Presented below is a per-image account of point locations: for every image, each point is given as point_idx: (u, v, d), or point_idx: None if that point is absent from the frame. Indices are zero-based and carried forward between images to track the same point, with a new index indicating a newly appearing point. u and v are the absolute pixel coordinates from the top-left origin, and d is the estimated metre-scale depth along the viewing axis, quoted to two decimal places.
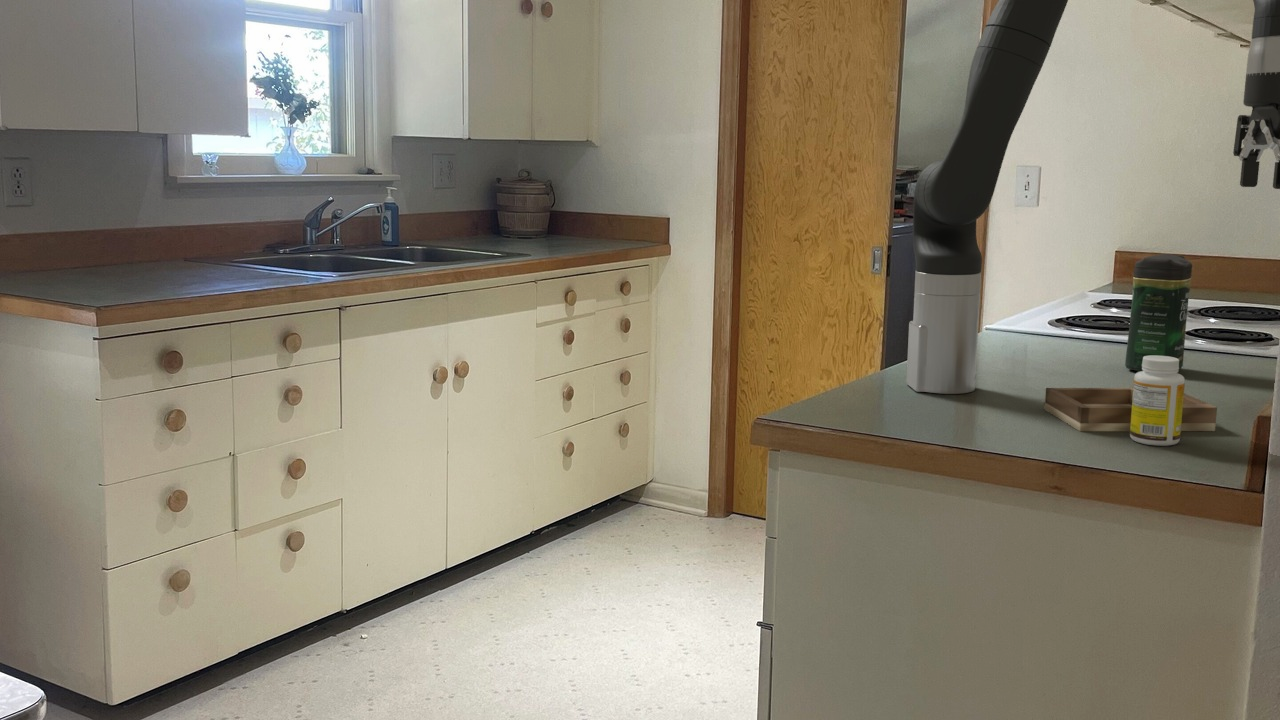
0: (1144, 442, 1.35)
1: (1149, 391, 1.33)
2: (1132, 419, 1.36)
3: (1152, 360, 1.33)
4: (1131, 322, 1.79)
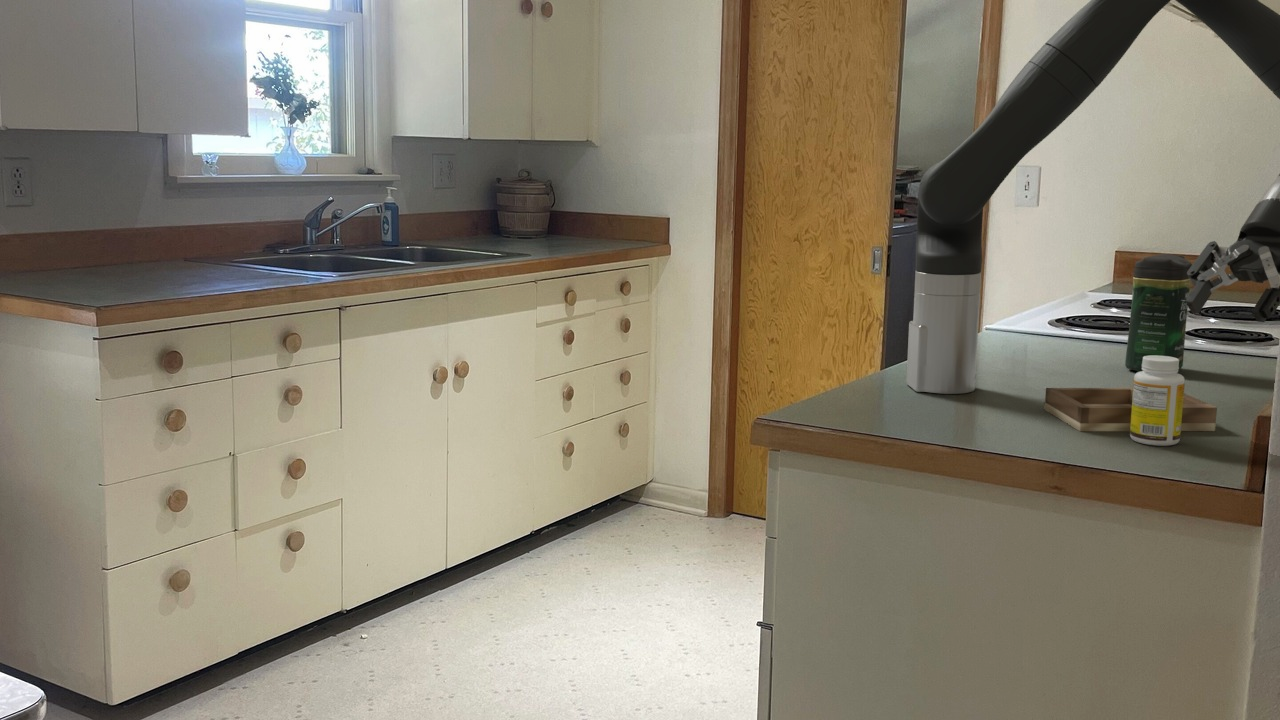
0: (1144, 442, 1.35)
1: (1149, 391, 1.33)
2: (1132, 419, 1.36)
3: (1152, 360, 1.33)
4: (1131, 322, 1.79)
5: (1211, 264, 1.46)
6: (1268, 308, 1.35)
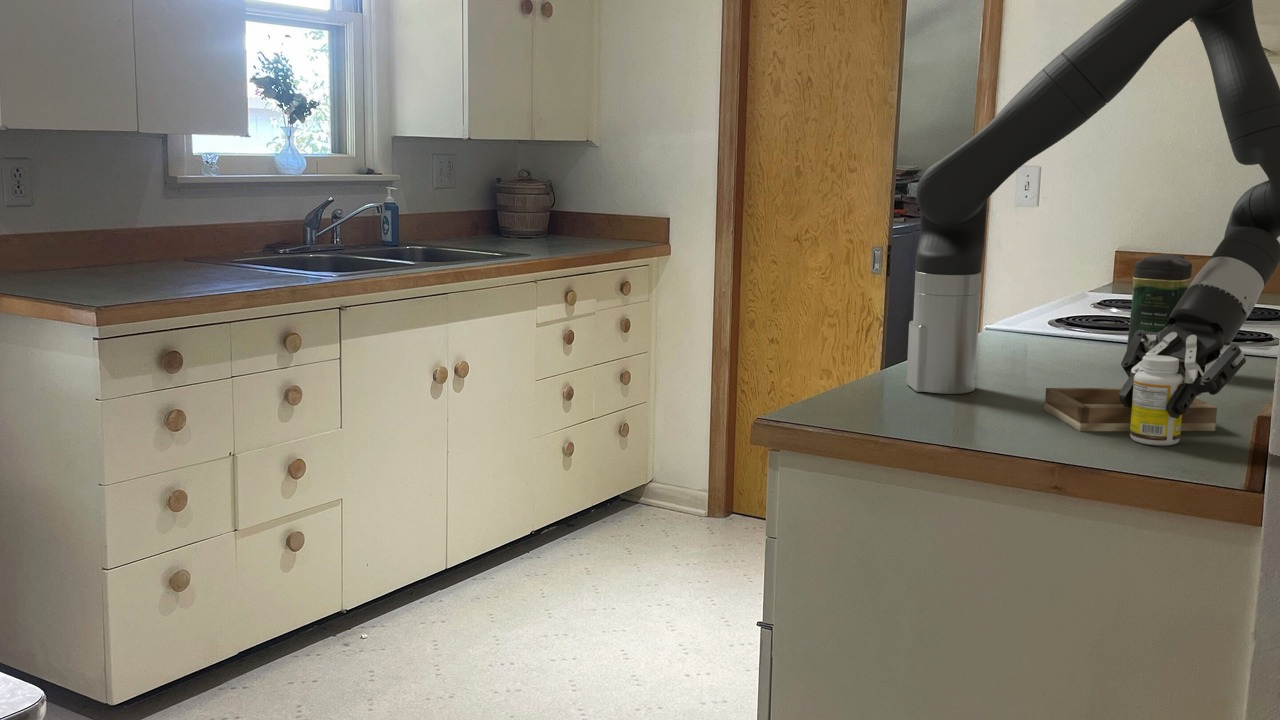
0: (1144, 442, 1.35)
1: (1149, 391, 1.33)
2: (1132, 419, 1.36)
3: (1152, 360, 1.33)
4: (1131, 322, 1.79)
5: (1142, 353, 1.41)
6: (1181, 405, 1.31)
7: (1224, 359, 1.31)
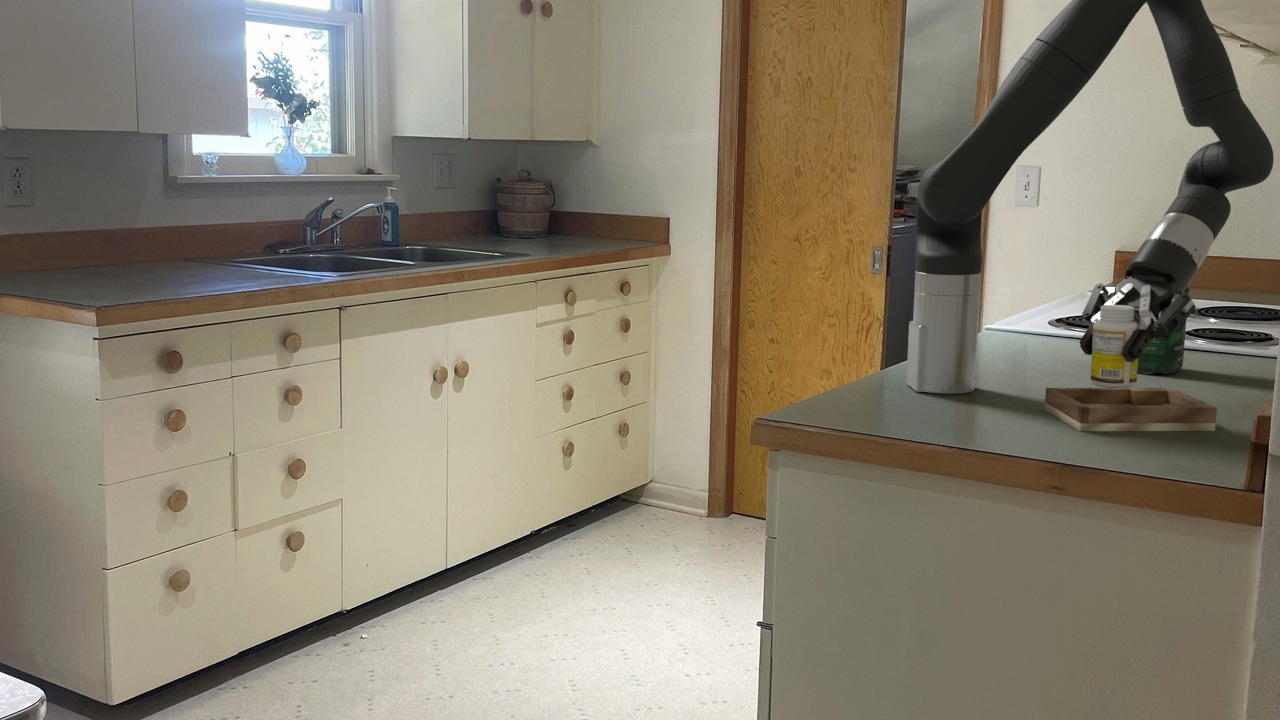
0: (1103, 385, 1.45)
1: (1106, 337, 1.43)
2: (1092, 364, 1.46)
3: (1109, 308, 1.43)
4: None
5: (1102, 305, 1.51)
6: (1136, 349, 1.41)
7: (1175, 306, 1.41)
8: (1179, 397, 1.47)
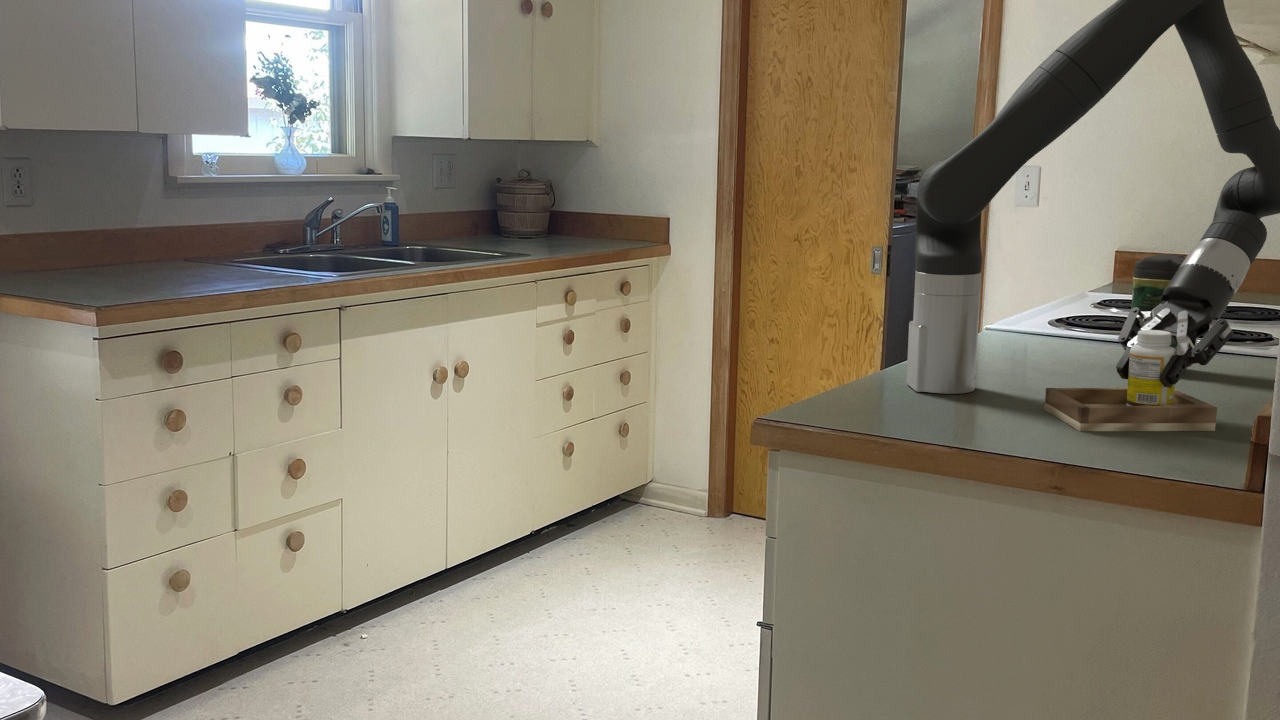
0: None
1: (1144, 362, 1.44)
2: (1128, 389, 1.47)
3: (1146, 334, 1.44)
4: None
5: (1137, 329, 1.52)
6: (1174, 375, 1.42)
7: (1213, 332, 1.41)
8: (1179, 397, 1.47)
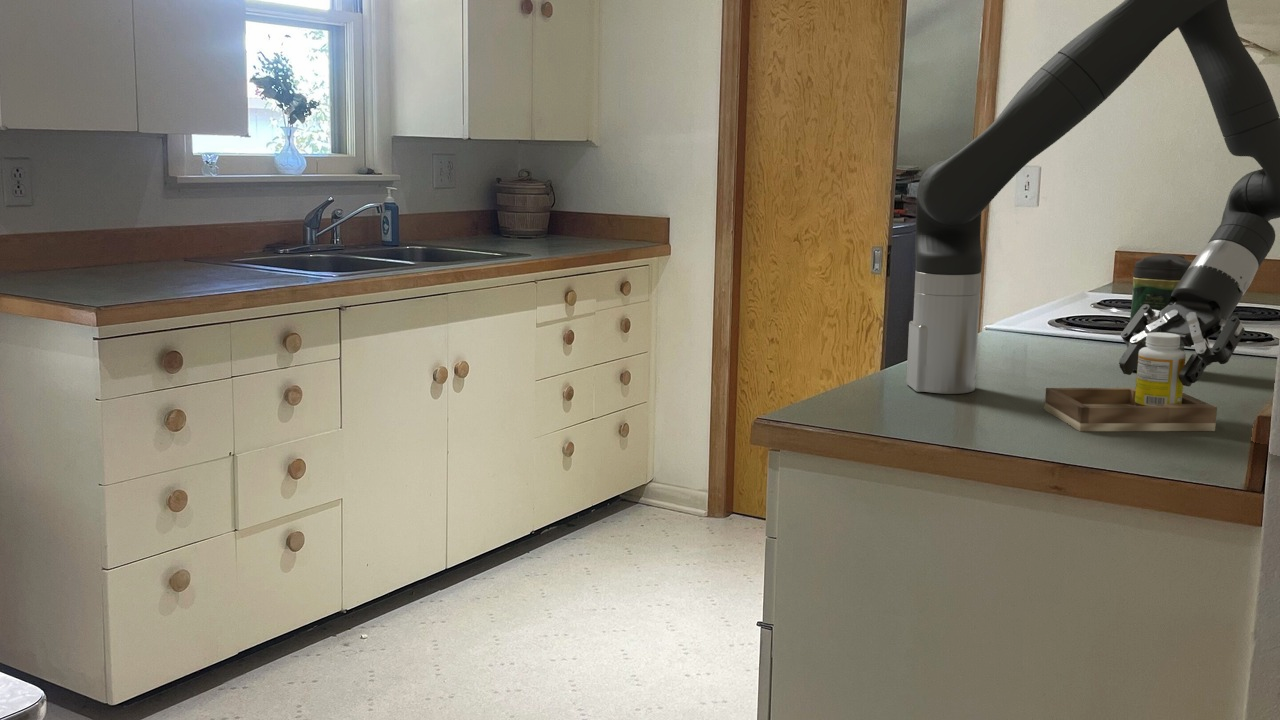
0: None
1: (1152, 365, 1.44)
2: (1137, 391, 1.47)
3: (1155, 336, 1.44)
4: None
5: (1144, 326, 1.52)
6: (1193, 373, 1.41)
7: (1228, 329, 1.41)
8: None
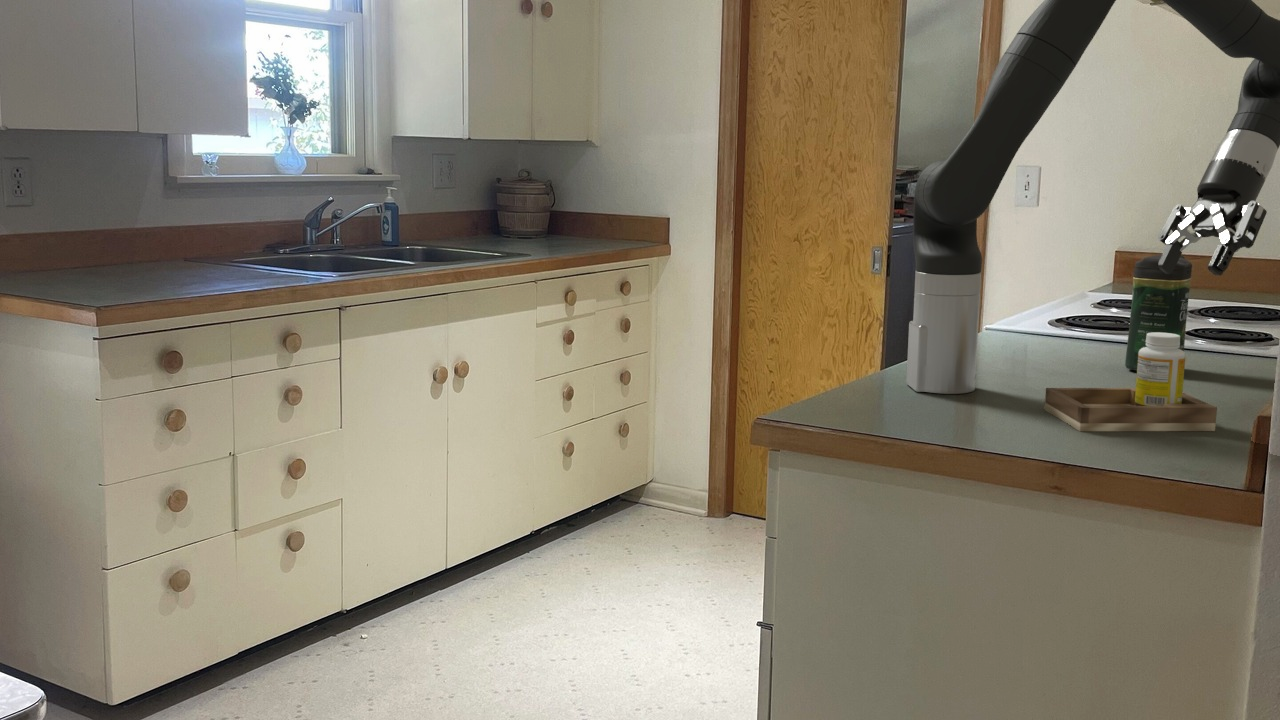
0: None
1: (1152, 365, 1.44)
2: (1136, 391, 1.47)
3: (1155, 336, 1.44)
4: (1131, 322, 1.79)
5: None
6: (1220, 263, 1.51)
7: (1247, 215, 1.51)
8: None
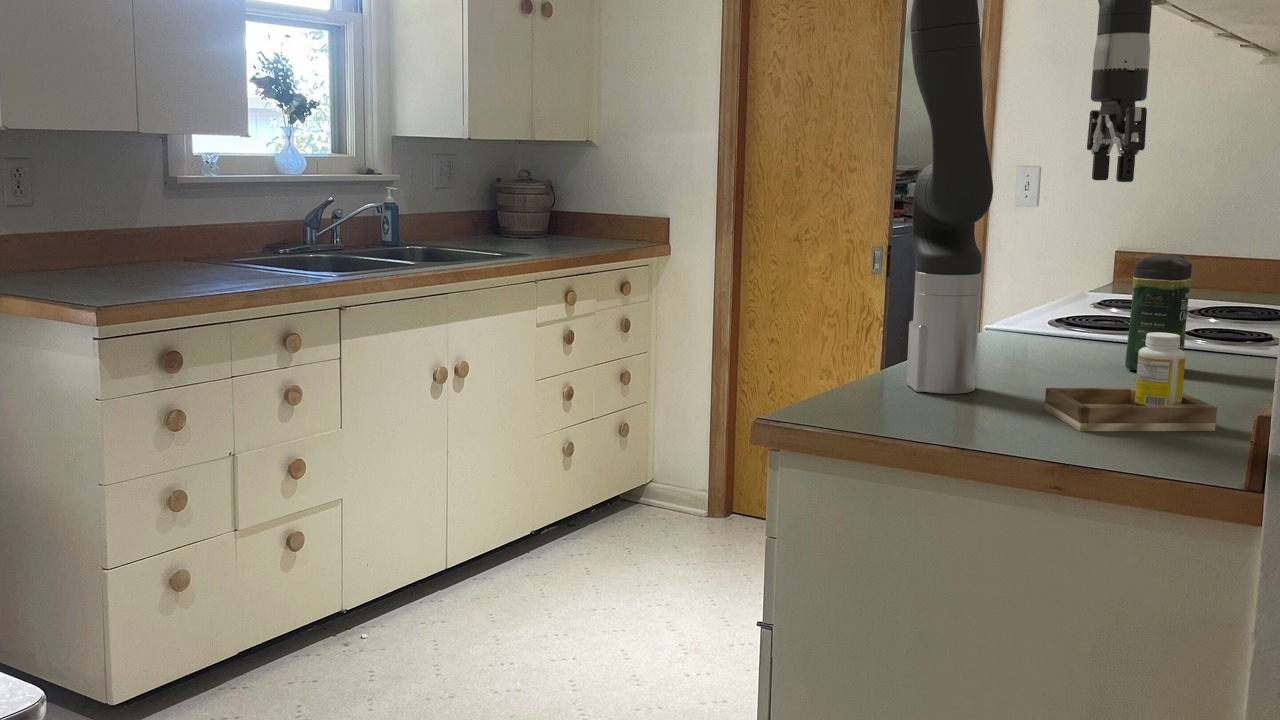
0: None
1: (1152, 365, 1.44)
2: (1136, 391, 1.47)
3: (1155, 336, 1.44)
4: (1131, 322, 1.79)
5: None
6: (1124, 174, 1.61)
7: (1127, 123, 1.59)
8: None
